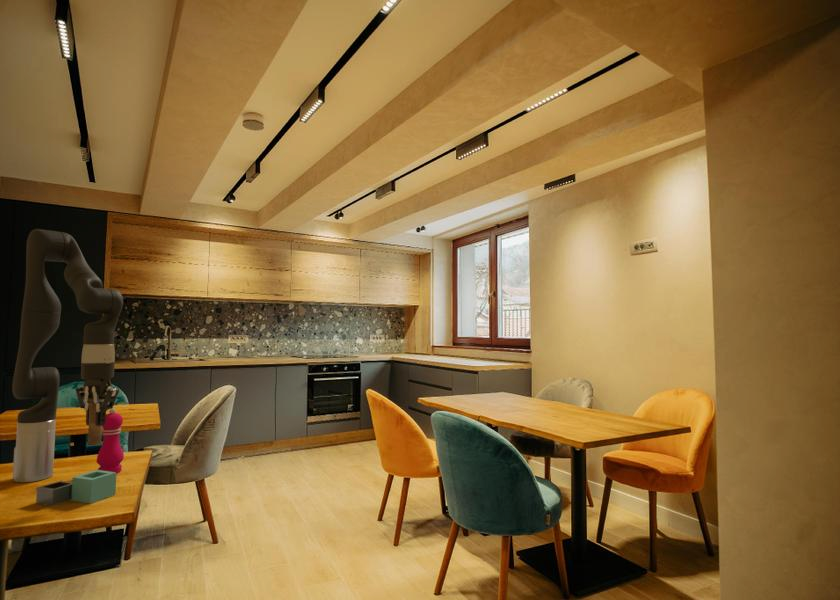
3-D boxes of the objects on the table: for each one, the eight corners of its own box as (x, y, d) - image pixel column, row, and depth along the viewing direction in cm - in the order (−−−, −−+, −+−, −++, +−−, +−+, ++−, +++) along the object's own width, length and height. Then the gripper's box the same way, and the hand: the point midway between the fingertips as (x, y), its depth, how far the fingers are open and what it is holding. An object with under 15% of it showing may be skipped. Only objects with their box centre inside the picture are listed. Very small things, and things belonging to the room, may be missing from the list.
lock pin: (82, 445, 128) (84, 398, 129) (96, 442, 132) (98, 396, 132) (92, 446, 127) (94, 398, 127) (106, 443, 130) (108, 396, 131)
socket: (71, 500, 126) (72, 477, 127) (96, 491, 133) (97, 469, 133) (90, 503, 124) (91, 480, 125) (115, 494, 131) (116, 472, 131)
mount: (36, 503, 124) (36, 487, 125) (59, 495, 130) (60, 480, 130) (52, 506, 122) (53, 490, 123) (75, 498, 128) (76, 483, 128)
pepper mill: (109, 476, 147) (112, 410, 148) (90, 475, 148) (93, 409, 150) (128, 469, 154) (131, 406, 155) (109, 468, 155) (112, 406, 157)
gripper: (66, 361, 129) (63, 426, 128) (103, 362, 125) (101, 429, 124) (93, 359, 136) (90, 421, 135) (129, 360, 132) (127, 424, 131)
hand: (95, 424), depth 129 cm, fingers closed on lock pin, 3 cm apart
